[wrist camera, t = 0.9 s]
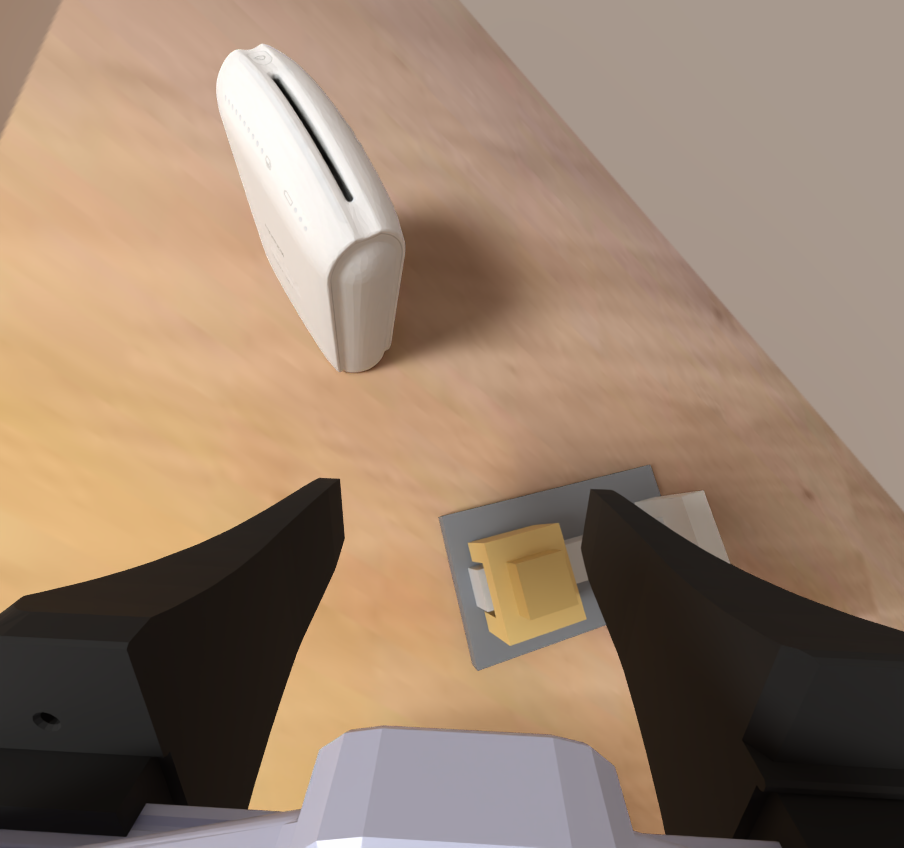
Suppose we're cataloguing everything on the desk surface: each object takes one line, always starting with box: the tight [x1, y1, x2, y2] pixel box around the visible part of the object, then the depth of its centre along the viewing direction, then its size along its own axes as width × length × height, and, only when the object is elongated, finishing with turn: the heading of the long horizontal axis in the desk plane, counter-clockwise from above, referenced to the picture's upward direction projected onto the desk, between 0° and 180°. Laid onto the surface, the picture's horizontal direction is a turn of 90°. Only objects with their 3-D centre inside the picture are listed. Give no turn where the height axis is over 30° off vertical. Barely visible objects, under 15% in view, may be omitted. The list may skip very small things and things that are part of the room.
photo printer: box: [216, 44, 406, 372], centre depth 20 cm, size 10×4×12 cm, turn 32°
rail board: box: [439, 465, 730, 671], centre depth 23 cm, size 14×8×5 cm, turn 104°
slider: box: [468, 523, 587, 646], centre depth 21 cm, size 4×5×4 cm
